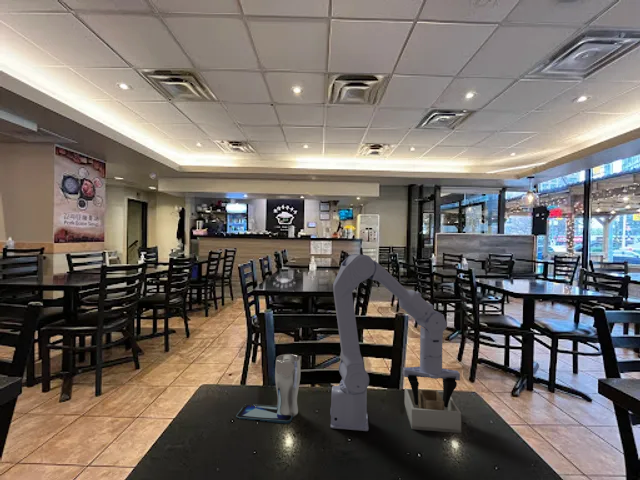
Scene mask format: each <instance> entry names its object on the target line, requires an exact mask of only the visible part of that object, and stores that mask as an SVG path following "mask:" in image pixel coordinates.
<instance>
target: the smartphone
mask: <svg viewBox="0 0 640 480" xmlns="http://www.w3.org/2000/svg"><path fill="white" fill-rule="evenodd" d="M245 405H246V404H245ZM254 405H255V406H256V408H255V406H254ZM243 406H244V405H243ZM276 409H277V405H270V404H269V405H267V404H254V403H253V406H252V405H251V407H250V405H246V407H245V406H244V408H243V407H241V409H240V410H239V411H238V412H237V414H235V415H236V416H235V418H236V417H237V418H239V419H238V420H245V419H247V420H246V421H255V420H260V421H259V422H265V421H267V422H266V423H274V424H275V423H277V424H285V425H286V424H290V423H291V422H292V420H293V418H294V417H293V415H292V416H280V415H278V414H277V413H276ZM237 418H236V419H237Z"/></svg>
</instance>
